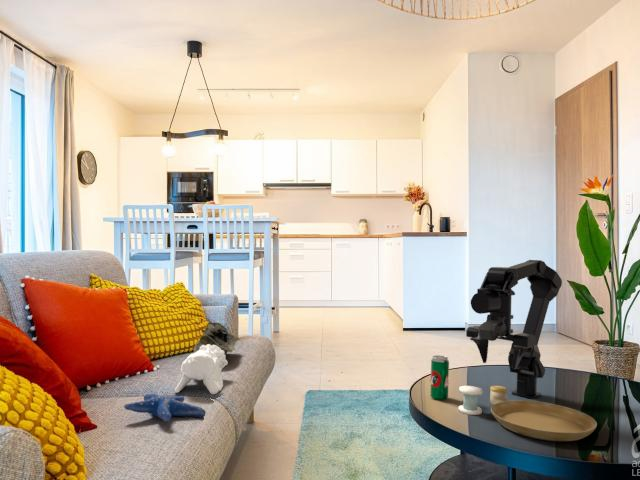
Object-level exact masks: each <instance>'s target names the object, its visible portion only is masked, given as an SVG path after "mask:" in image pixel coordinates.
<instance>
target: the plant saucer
mask: <svg viewBox="0 0 640 480" xmlns="http://www.w3.org/2000/svg"><path fill="white" fill-rule="evenodd" d="M490 411H491V413H492V416H493V417H494V418H495V420H496V421H497V422H498V423H499V424H500V425H501V426H503V427H504V428H506V429H507V430H509V431H511V432H513V433H516V434H518V435H521V436H524V437H528V438H532V439H536V440H543V441H548V442H549V441H551V442H573V441H574V442H575V441H579V440H581V439H584V438H586V437H589V436H590V435H591V434H592V433H593V432H594V431H595V430H596V429H597V426H598V423H597V420H595V419H594V417H592V416H590V415H589V414H587V413H585V412H582V411H580V410H577V409H574V408H571V407H568V406H564V405H559V404H554V403H550V402H543V401H536V400H520V399H519V400H516V399H515V400H514V399H513V400H507V401H503V402H498V403H496V404H494V405H493V404H491V407H490Z"/></svg>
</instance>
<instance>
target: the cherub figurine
mask: <svg viewBox="0 0 640 480" xmlns="http://www.w3.org/2000/svg"><path fill="white" fill-rule="evenodd" d="M224 353H225V352H224V351H223V350H221V348H219V347H217V346H216V345H212V346H211V345H210V344H207V345H206V346H205V345H202V346H201V347H200V349H199V351H196V352H195V353H194V352H193V353H190V354H189V355H188V356H187V358H186V359H185V360H183V361H182V362H181V366H180V372H181V373H182V376H181V378H180V381H179V382H178V384H177V385H176V387H175V389H174V393H176V394H177V393H179V392H180V391H182V390H183V389H184V388H186V386H187V385H188V384H190V382H191V381H192V380H197V381H202V383H203V385H204V386H205V387H206V388H207V391H209V393H210V394H211V395H216V394H217V393H219V392H220V391H221V390H222V389H223V387H224V380H223V375H222V370H223V369H224V368H225V366H228V364H229V362H228V360H227V359H226V356H227V354H226V355H224Z"/></svg>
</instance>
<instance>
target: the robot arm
mask: <svg viewBox="0 0 640 480" xmlns="http://www.w3.org/2000/svg"><path fill="white" fill-rule="evenodd" d="M523 279H527V281H528V283H529V284H530V286H529V289H530V291H531V294H532V299H531V303H530V306H529V309H528V312H527V316H526V319H525V323H524V326H523V330H522V332H519V333H516V334H513V333H514V329H512V328H511V327H512V326H511V325H512V320H513V319H514V315H513V314H512V296H515V295H516V292H515V291H514V290H513V288H514V287H515V286H517V285H518V284H519V281H521V280H523ZM562 284H563V279H562V278H561V277H560V274H559V273H558V272H557V271H556V270H555V269H554V268H552V267H549V266H548V265H547V264H546V263H545V261H544V260H542V259H541V260H539V259H538V260H537V259H536V260H535V259H528V260H526V261H525V262H521V263H518V264H514V265H511V266H508V267H506V266H503V267H502V266H501V267H500V266H492V267H490V268H488V271H487V272H486V274H485V276H484V279H483V281H482V283H481V286H480V287H479V288H477V290H476V291H477V292H476V293H474V295H472V297H471V299H470V306H471V309H472V310H473V312H475V313H476V314H479V315H481V314H487V316H486V321H484V322H482V323H481V324H480V325H473V326H472V325H471V326H468V328H466V332H465V336H466V337H468V338H469V339H470V341H473V342H474V343H475V345H476V346H477V348H478V351H479V355H480V357H481V361H482V363H483V364H487V361H488V355H489V354H488V352H489V341H491V342H493V341H496V340H497V339H498V340H504V341H509V342H512V343H511V346H510V349H509V351H508V357H507V362H508V366H509V372H510V373H515V374H516V389H515V390H513V391H511V394H512V395H515V396H521V397H525V398H528V399H535V398H537V397H540V396H542V393H541V392H538V379H539V378H540V379H542V378H544V376H545V372H546V368H545V367H544V365H543V362H542V361H541V357H542V356H541V352H540V349H539V346H538V345H539V341H540V337H541V334H542V330H543V326H544V322H545V320H546V316H547V312H548V308H549V305H550V302H551V301H553V299H555V298H556V297H557V296H558V294H559V291H560V288H562Z"/></svg>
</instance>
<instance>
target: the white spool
mask: <svg viewBox="0 0 640 480" xmlns="http://www.w3.org/2000/svg"><path fill="white" fill-rule="evenodd" d="M458 392H459V393H461V394H463V403H462V404H461V405H458V412H460V413H461V414H464V415H469V416H480V415H481V414H482V413H483V412H482V411H483V409H482V408H481V407H480V406H478V397H479V396H481V395H483V389H482V388H481V387H477V386H473V385H462V386H459V388H458Z"/></svg>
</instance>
